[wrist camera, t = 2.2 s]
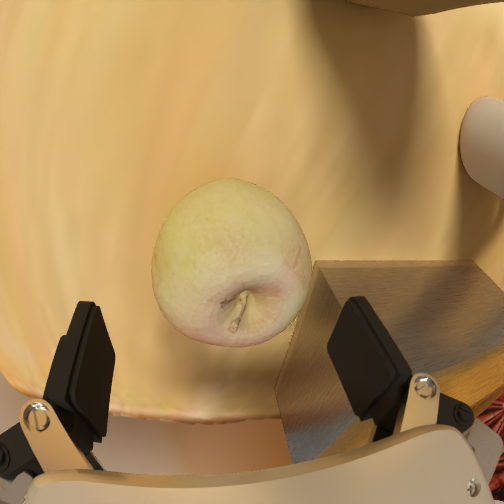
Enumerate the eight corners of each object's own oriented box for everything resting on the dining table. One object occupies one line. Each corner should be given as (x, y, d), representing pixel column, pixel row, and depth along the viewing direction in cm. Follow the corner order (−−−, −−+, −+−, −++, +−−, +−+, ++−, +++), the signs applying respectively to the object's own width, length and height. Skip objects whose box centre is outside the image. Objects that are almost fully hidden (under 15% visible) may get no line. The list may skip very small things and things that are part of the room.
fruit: (133, 215, 15) (90, 322, 8) (246, 139, 14) (290, 199, 7) (209, 299, 19) (219, 407, 12) (308, 244, 18) (362, 343, 11)
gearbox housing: (472, 260, 22) (546, 345, 12) (408, 364, 30) (448, 440, 20) (315, 260, 18) (403, 435, 8) (274, 389, 27) (301, 498, 17)
